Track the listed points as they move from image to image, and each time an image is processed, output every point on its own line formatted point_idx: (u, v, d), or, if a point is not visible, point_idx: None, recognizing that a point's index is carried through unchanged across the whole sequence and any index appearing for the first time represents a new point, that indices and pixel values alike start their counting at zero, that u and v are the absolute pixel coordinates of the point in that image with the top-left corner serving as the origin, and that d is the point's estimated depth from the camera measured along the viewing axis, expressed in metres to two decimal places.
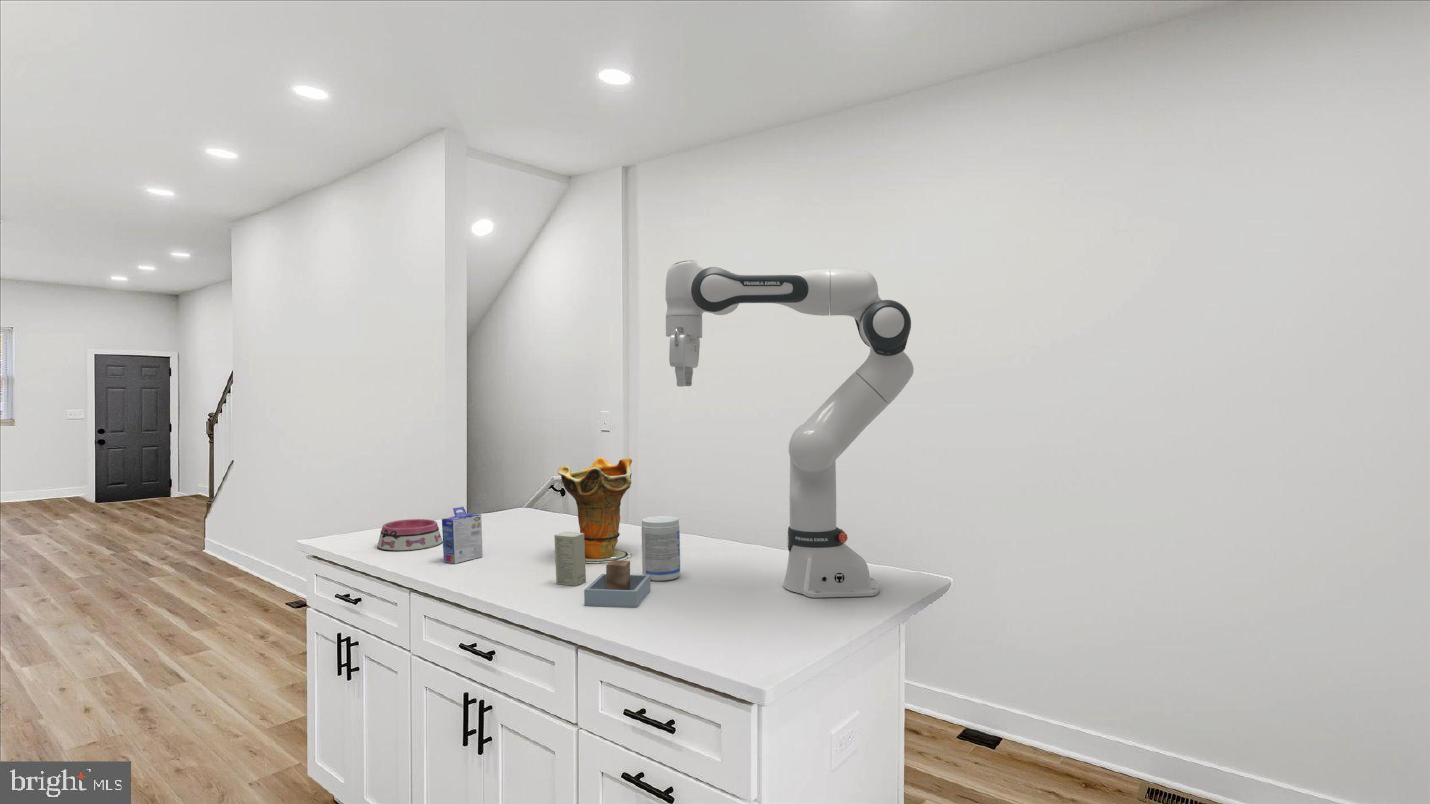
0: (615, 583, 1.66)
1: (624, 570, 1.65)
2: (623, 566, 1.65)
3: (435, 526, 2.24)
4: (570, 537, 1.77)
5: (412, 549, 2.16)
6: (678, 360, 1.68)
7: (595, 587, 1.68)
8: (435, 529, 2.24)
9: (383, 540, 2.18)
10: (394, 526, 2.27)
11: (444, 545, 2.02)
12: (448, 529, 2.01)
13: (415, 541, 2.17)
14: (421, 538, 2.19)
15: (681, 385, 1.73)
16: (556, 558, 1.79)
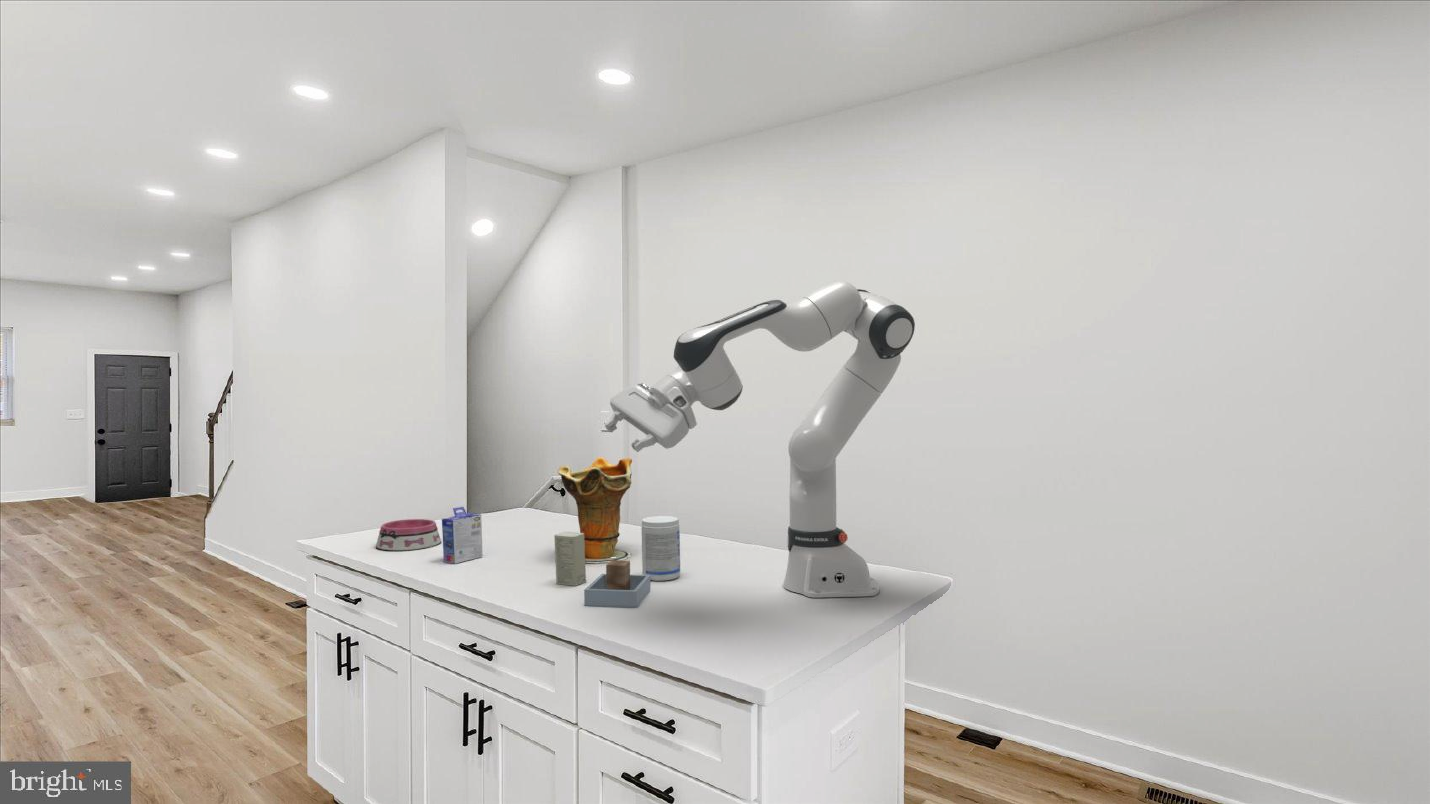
0: (615, 583, 1.66)
1: (624, 570, 1.65)
2: (623, 566, 1.65)
3: (434, 526, 2.24)
4: (570, 537, 1.77)
5: (411, 549, 2.17)
6: None
7: (595, 587, 1.68)
8: (434, 529, 2.24)
9: (382, 540, 2.18)
10: (393, 526, 2.27)
11: (444, 545, 2.02)
12: (448, 528, 2.01)
13: (414, 541, 2.17)
14: (419, 538, 2.19)
15: None
16: (556, 558, 1.79)
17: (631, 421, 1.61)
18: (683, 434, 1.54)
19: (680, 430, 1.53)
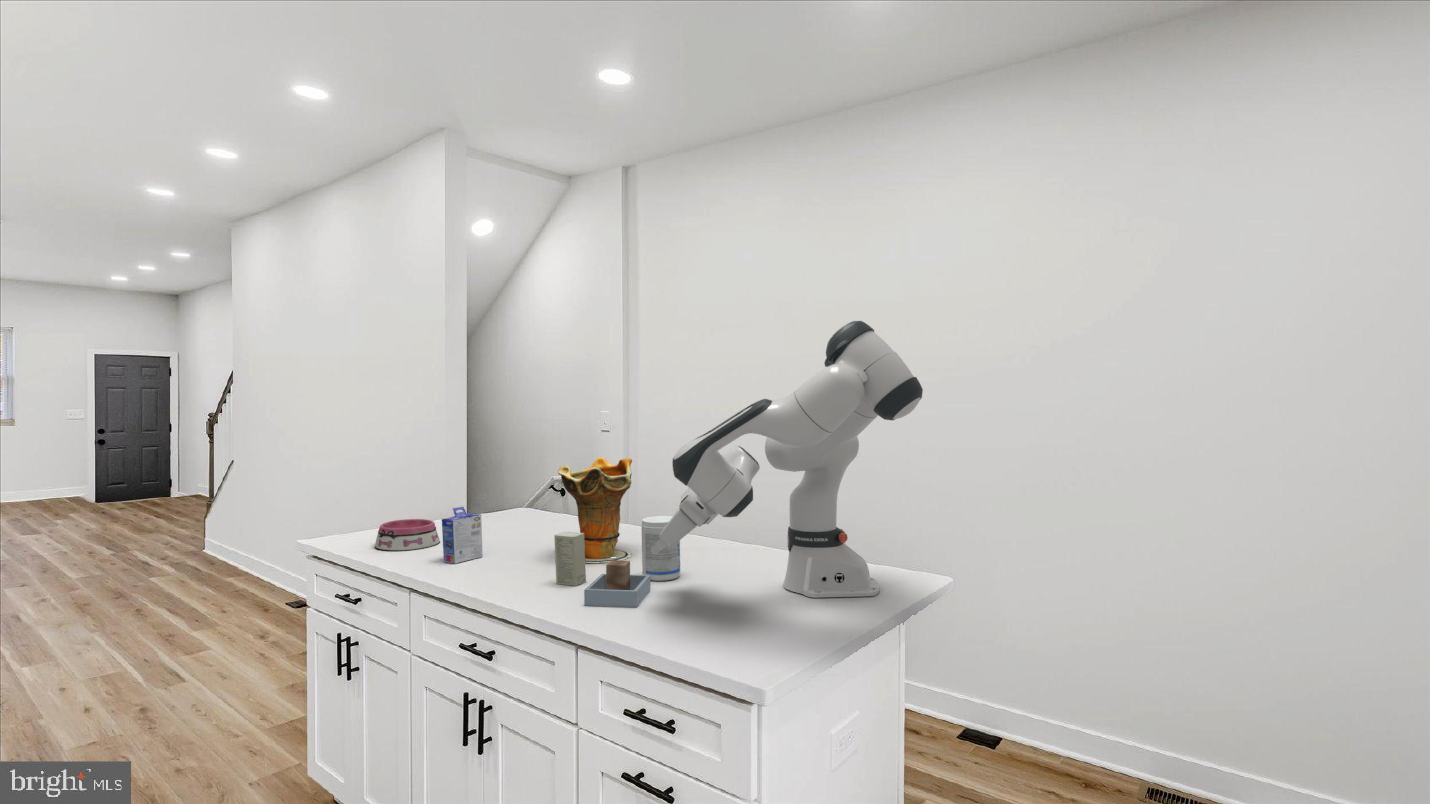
0: (615, 583, 1.66)
1: (624, 570, 1.65)
2: (623, 566, 1.65)
3: (432, 526, 2.25)
4: (570, 537, 1.77)
5: (409, 549, 2.17)
6: None
7: (595, 587, 1.68)
8: (432, 529, 2.24)
9: (380, 540, 2.18)
10: (391, 526, 2.27)
11: (444, 546, 2.02)
12: (448, 529, 2.01)
13: (412, 541, 2.18)
14: (418, 538, 2.19)
15: None
16: (556, 558, 1.79)
17: None
18: (682, 530, 1.55)
19: (675, 526, 1.55)
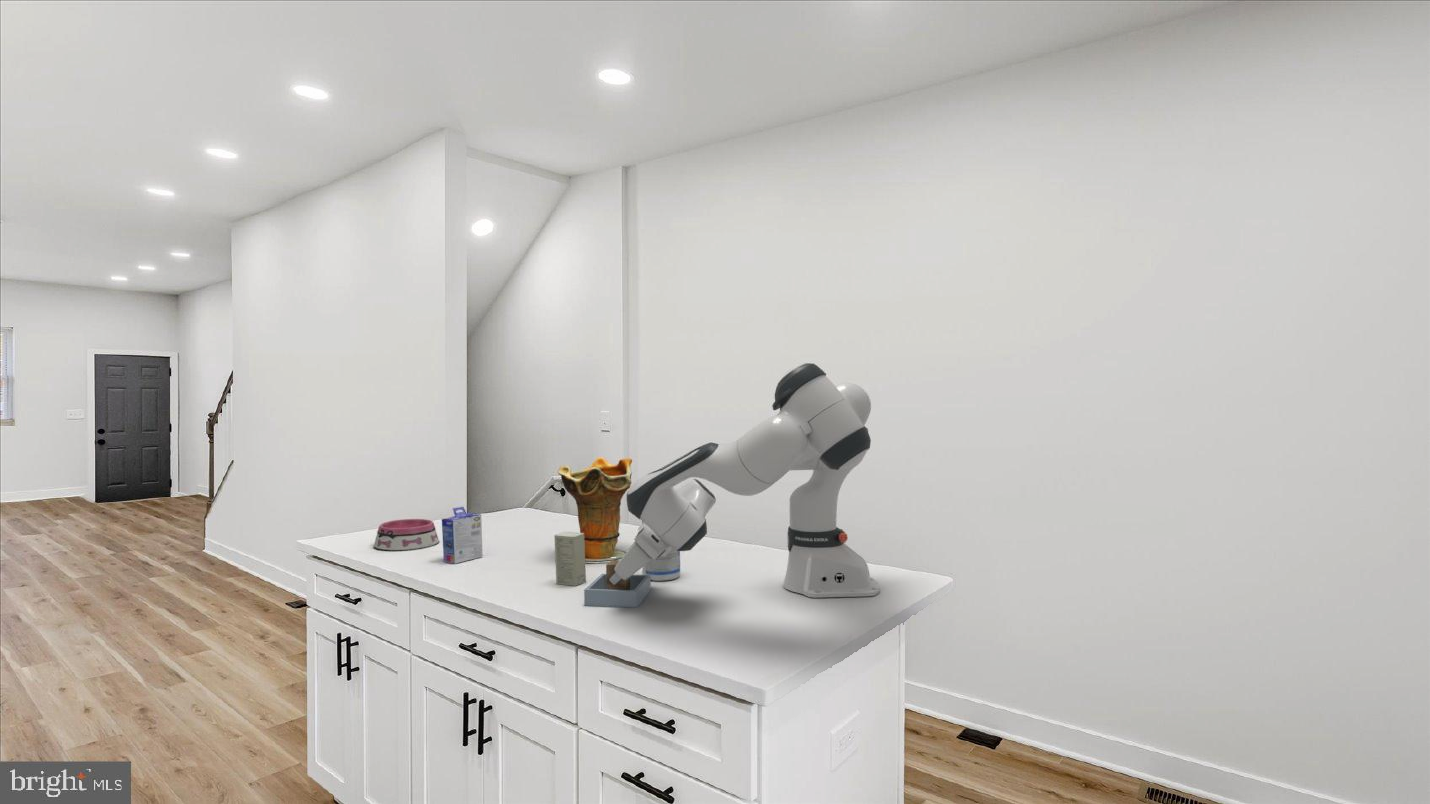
0: None
1: None
2: None
3: (432, 526, 2.25)
4: (570, 537, 1.77)
5: (408, 549, 2.17)
6: None
7: (595, 587, 1.68)
8: (432, 529, 2.24)
9: (379, 540, 2.18)
10: (391, 526, 2.27)
11: (444, 546, 2.02)
12: (448, 529, 2.01)
13: (411, 541, 2.18)
14: (417, 537, 2.19)
15: None
16: (556, 558, 1.79)
17: None
18: (637, 564, 1.57)
19: (630, 560, 1.57)
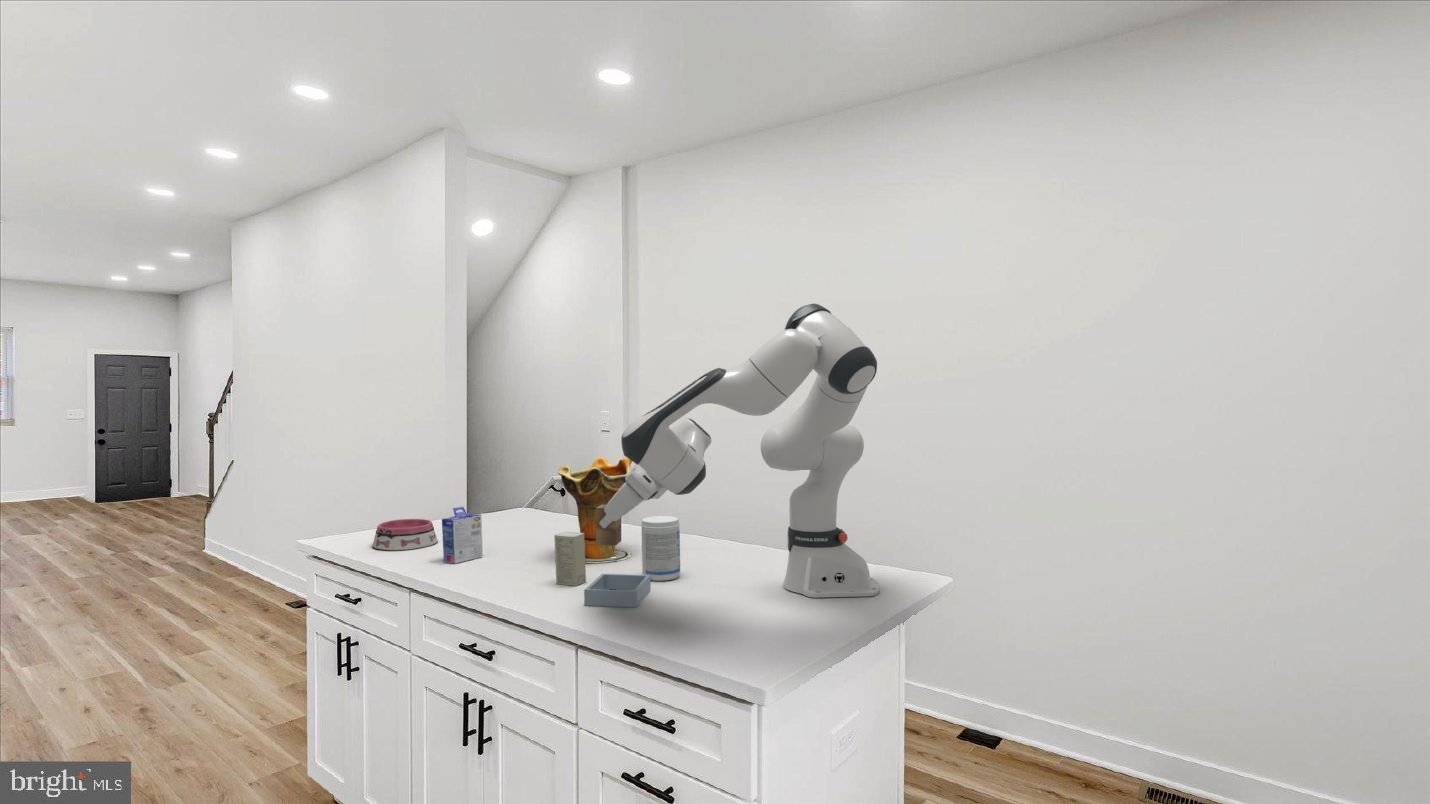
0: None
1: None
2: None
3: (430, 526, 2.25)
4: (570, 537, 1.77)
5: (407, 549, 2.17)
6: None
7: (595, 587, 1.68)
8: (430, 529, 2.24)
9: (378, 540, 2.18)
10: (389, 526, 2.28)
11: (444, 546, 2.02)
12: (448, 528, 2.01)
13: (410, 541, 2.18)
14: (416, 537, 2.19)
15: None
16: (556, 558, 1.79)
17: None
18: (628, 504, 1.50)
19: (620, 500, 1.50)
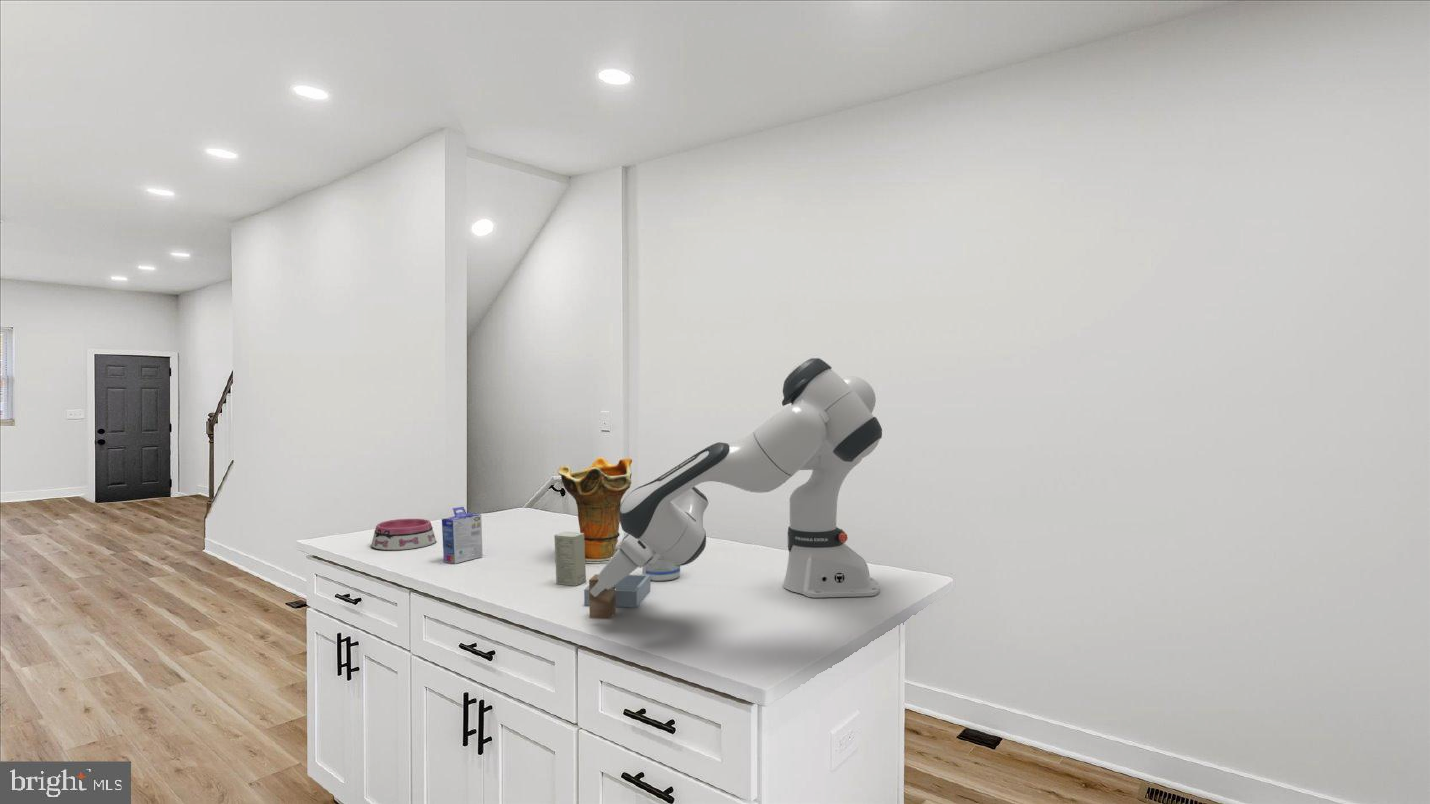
0: (599, 599, 1.53)
1: None
2: None
3: (429, 526, 2.25)
4: (570, 537, 1.77)
5: (405, 549, 2.17)
6: None
7: None
8: (428, 529, 2.25)
9: (376, 539, 2.19)
10: (388, 525, 2.28)
11: (444, 546, 2.02)
12: (448, 528, 2.01)
13: (408, 541, 2.18)
14: (414, 537, 2.19)
15: None
16: (556, 558, 1.79)
17: None
18: (622, 572, 1.45)
19: (614, 568, 1.45)
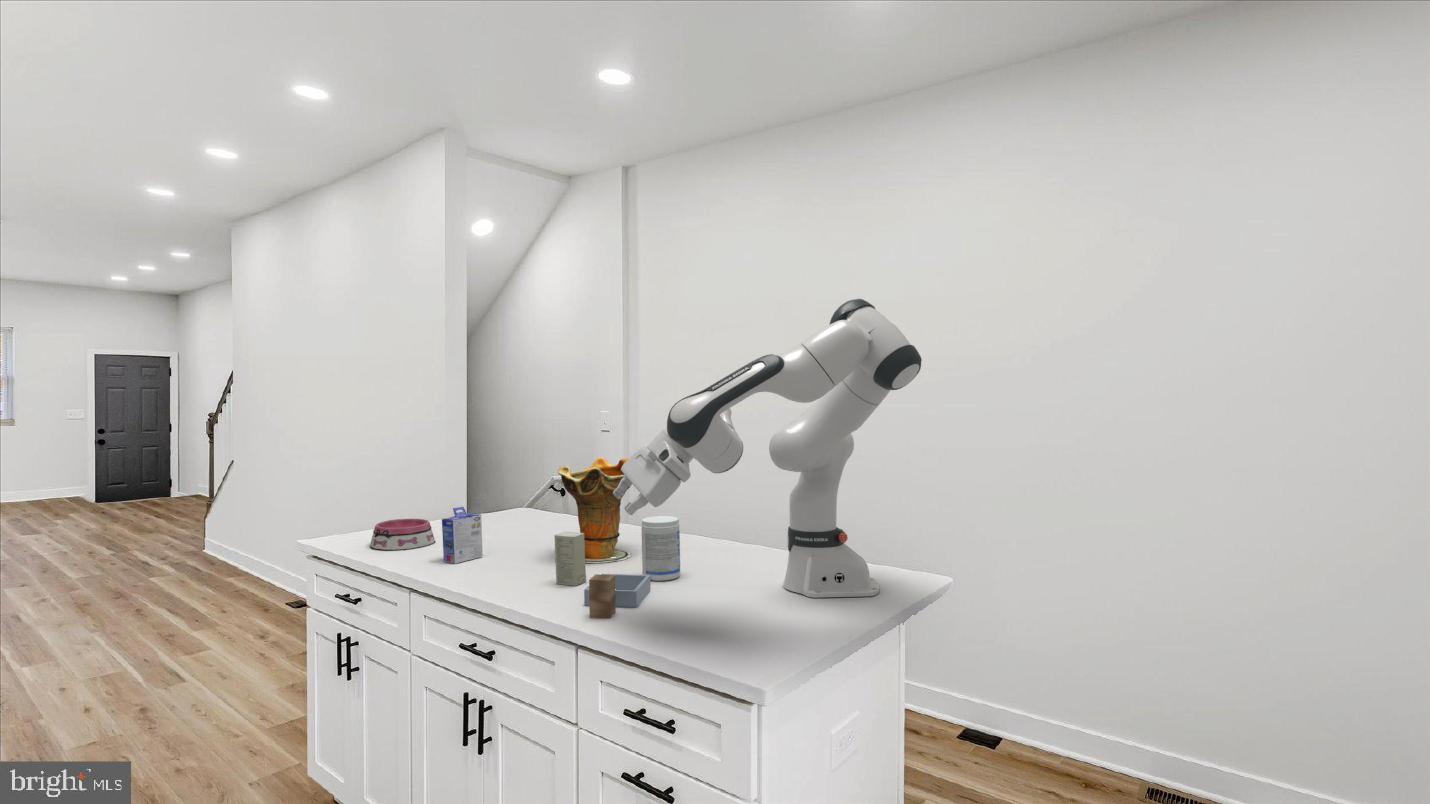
0: (599, 599, 1.53)
1: (608, 585, 1.53)
2: (607, 581, 1.53)
3: (427, 526, 2.25)
4: (570, 537, 1.77)
5: (404, 548, 2.17)
6: None
7: None
8: (427, 529, 2.25)
9: (375, 539, 2.19)
10: (387, 525, 2.28)
11: (444, 546, 2.02)
12: (448, 528, 2.01)
13: (407, 540, 2.18)
14: (413, 537, 2.19)
15: None
16: (556, 558, 1.79)
17: None
18: (671, 489, 1.46)
19: (664, 486, 1.45)
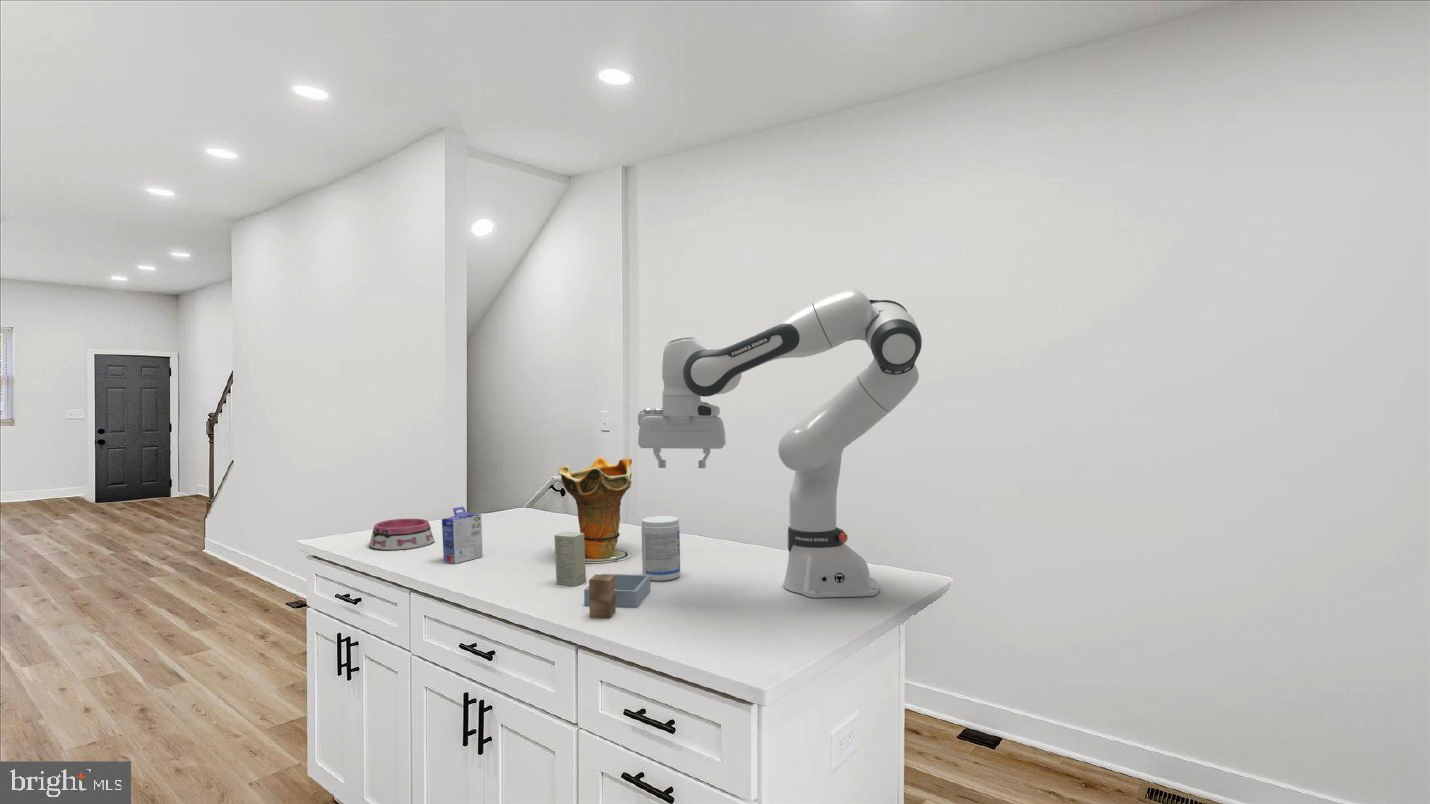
0: (599, 599, 1.53)
1: (608, 585, 1.53)
2: (607, 581, 1.53)
3: (427, 525, 2.25)
4: (570, 537, 1.77)
5: (403, 548, 2.17)
6: None
7: None
8: (427, 528, 2.25)
9: (375, 539, 2.19)
10: (386, 525, 2.28)
11: (444, 545, 2.02)
12: (448, 528, 2.01)
13: (406, 540, 2.18)
14: (412, 537, 2.19)
15: None
16: (556, 558, 1.79)
17: None
18: (723, 427, 1.70)
19: (723, 429, 1.69)
